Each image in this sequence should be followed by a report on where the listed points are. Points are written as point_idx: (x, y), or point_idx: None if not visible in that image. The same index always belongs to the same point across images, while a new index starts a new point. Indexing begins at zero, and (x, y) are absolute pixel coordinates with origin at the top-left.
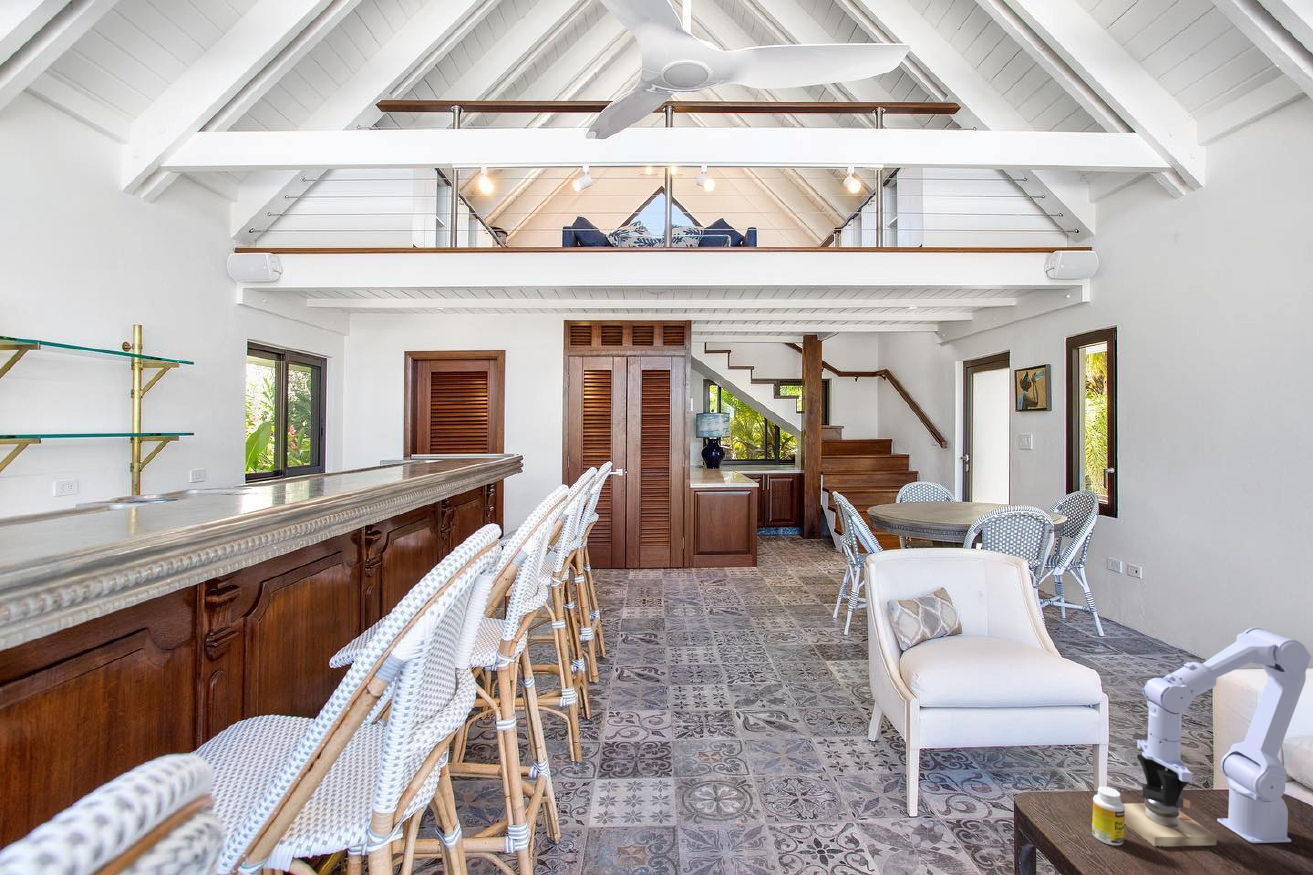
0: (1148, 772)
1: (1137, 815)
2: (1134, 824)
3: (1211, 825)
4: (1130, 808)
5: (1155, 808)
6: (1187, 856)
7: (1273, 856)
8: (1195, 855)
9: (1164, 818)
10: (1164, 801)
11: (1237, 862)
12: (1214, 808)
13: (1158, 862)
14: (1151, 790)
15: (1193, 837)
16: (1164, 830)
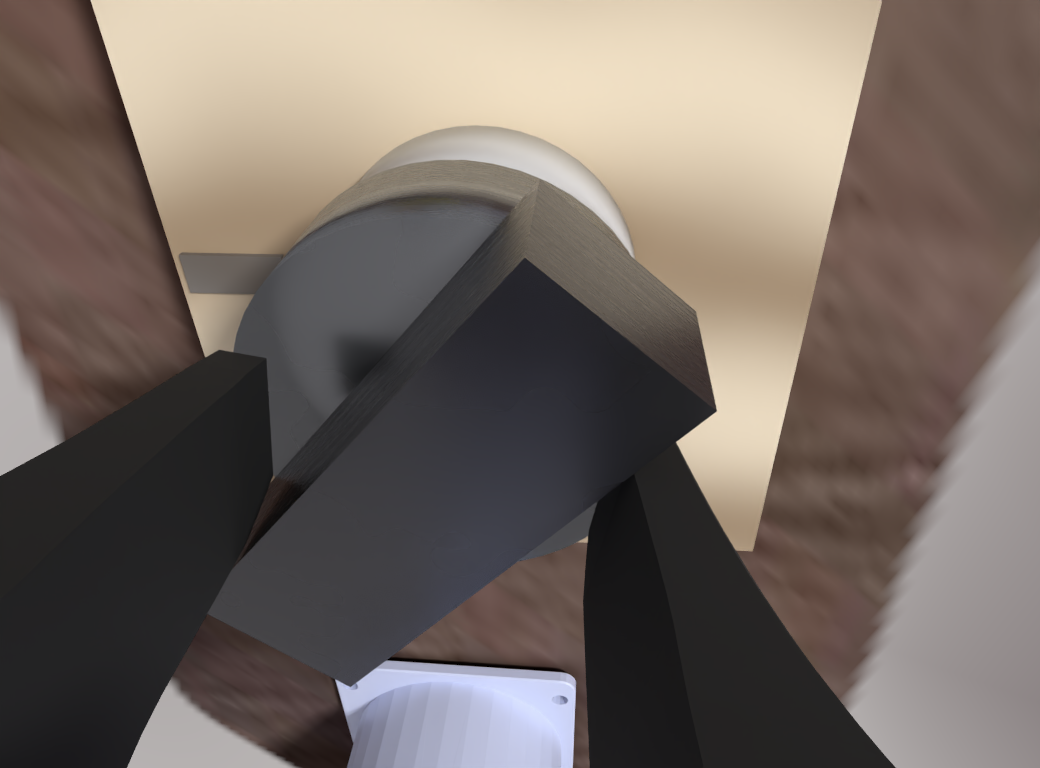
0: (674, 700)
1: (570, 26)
2: None
3: (530, 613)
4: (737, 65)
5: (350, 205)
6: (31, 98)
7: (227, 653)
8: (78, 195)
9: None
10: (238, 360)
11: None
12: None
13: None
14: (429, 361)
15: (204, 337)
16: (247, 119)
